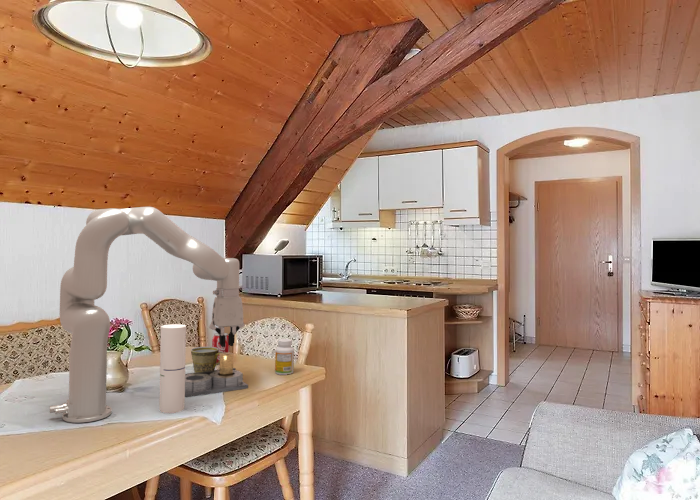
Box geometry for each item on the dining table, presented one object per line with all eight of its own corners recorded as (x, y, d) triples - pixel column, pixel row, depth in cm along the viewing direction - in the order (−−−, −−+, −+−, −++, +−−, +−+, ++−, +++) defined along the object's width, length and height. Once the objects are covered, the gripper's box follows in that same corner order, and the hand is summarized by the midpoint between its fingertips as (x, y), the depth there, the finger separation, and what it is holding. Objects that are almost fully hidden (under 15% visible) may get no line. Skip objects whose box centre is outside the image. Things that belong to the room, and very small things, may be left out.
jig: (183, 397, 164) (183, 384, 164) (172, 387, 175) (173, 375, 175) (247, 388, 176) (248, 376, 176) (234, 379, 187) (234, 367, 187)
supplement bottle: (280, 369, 202) (281, 337, 202) (296, 371, 199) (297, 339, 199) (271, 374, 195) (272, 340, 195) (287, 376, 193) (288, 342, 193)
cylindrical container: (176, 414, 148) (178, 328, 148) (154, 412, 150) (155, 327, 149) (188, 406, 155) (190, 324, 155) (167, 404, 157) (169, 323, 156)
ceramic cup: (185, 378, 187) (185, 351, 187) (199, 371, 196) (199, 345, 196) (217, 381, 184) (217, 353, 183) (230, 374, 193) (230, 348, 193)
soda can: (232, 362, 212) (233, 333, 212) (220, 365, 206) (220, 336, 206) (220, 360, 216) (221, 331, 216) (207, 363, 210) (208, 334, 210)
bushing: (221, 384, 175) (222, 355, 175) (217, 381, 179) (218, 353, 179) (234, 383, 178) (235, 354, 177) (229, 379, 181) (230, 351, 181)
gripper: (208, 295, 170) (207, 350, 171) (253, 293, 179) (252, 345, 179) (201, 293, 176) (200, 346, 177) (245, 291, 185) (244, 342, 186)
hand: (226, 345), depth 178 cm, fingers closed
